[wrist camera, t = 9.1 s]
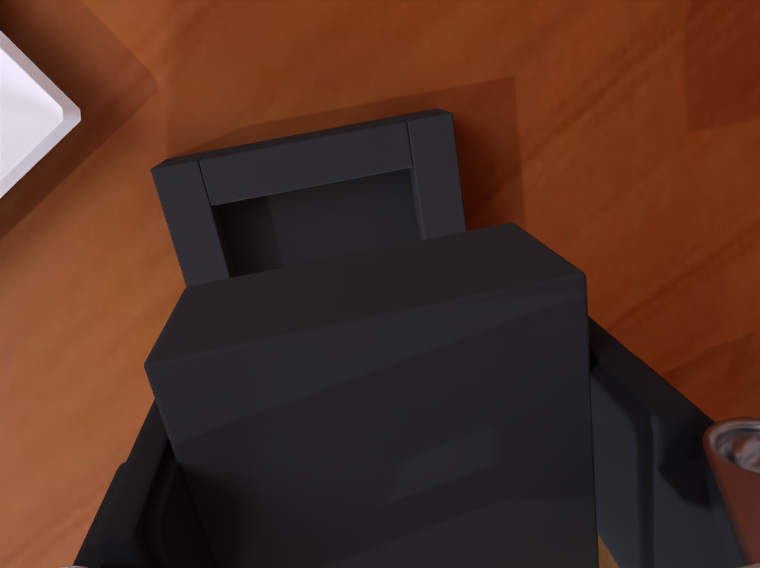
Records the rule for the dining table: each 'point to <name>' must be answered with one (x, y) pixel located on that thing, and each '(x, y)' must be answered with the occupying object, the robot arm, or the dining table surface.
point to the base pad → (312, 196)
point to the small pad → (388, 408)
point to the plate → (28, 114)
